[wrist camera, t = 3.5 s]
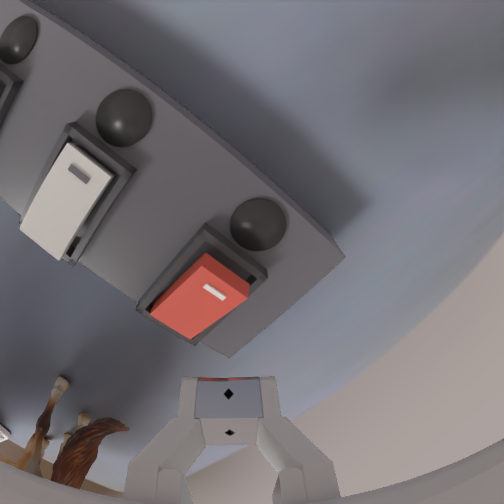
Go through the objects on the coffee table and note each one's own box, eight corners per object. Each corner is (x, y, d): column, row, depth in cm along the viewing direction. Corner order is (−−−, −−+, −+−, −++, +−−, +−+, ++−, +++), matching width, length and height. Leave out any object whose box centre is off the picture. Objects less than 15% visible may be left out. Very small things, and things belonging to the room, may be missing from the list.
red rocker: (195, 320, 19) (189, 340, 17) (157, 295, 18) (149, 315, 16) (250, 277, 16) (247, 299, 15) (207, 246, 15) (201, 267, 14)
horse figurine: (72, 459, 35) (52, 564, 17) (29, 438, 33) (2, 542, 15) (142, 376, 25) (112, 602, 7) (64, 333, 22) (-13, 557, 4)
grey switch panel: (228, 328, 23) (229, 367, 19) (-76, 83, 10) (-107, 90, 7) (330, 234, 20) (350, 265, 16) (-20, -27, 7) (-50, -34, 4)
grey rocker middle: (68, 251, 15) (58, 261, 13) (31, 221, 14) (18, 229, 12) (117, 174, 14) (110, 177, 13) (77, 142, 13) (66, 142, 12)
